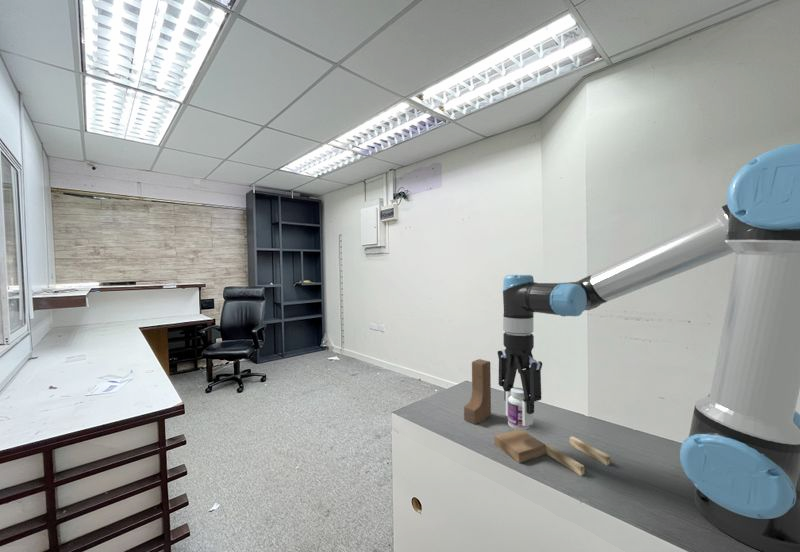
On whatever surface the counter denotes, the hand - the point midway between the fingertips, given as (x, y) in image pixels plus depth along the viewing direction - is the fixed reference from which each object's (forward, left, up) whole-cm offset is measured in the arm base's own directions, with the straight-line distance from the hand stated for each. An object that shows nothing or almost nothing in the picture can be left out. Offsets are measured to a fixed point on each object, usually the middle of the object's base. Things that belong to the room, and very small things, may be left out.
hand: (518, 419), depth 82 cm
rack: (-9, -10, -8) cm, 16 cm away
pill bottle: (0, 0, -2) cm, 2 cm away
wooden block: (+19, -1, -8) cm, 21 cm away
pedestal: (0, 0, -8) cm, 8 cm away
